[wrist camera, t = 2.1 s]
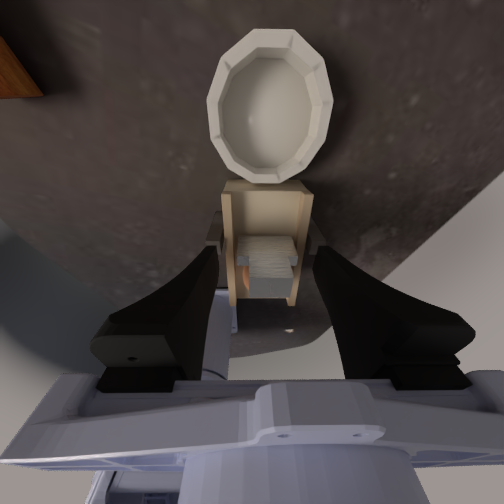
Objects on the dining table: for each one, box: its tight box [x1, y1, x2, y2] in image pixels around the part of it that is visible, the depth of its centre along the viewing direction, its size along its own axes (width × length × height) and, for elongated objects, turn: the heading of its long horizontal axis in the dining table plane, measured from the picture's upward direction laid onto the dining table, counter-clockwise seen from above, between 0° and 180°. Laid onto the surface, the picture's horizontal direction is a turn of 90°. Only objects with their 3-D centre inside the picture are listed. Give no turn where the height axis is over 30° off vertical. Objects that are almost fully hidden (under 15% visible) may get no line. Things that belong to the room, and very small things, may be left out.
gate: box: [237, 236, 298, 298], centre depth 12 cm, size 2×4×5 cm, turn 90°
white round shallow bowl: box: [207, 29, 333, 183], centre depth 12 cm, size 7×7×2 cm
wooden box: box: [205, 179, 326, 306], centre depth 16 cm, size 10×9×5 cm
